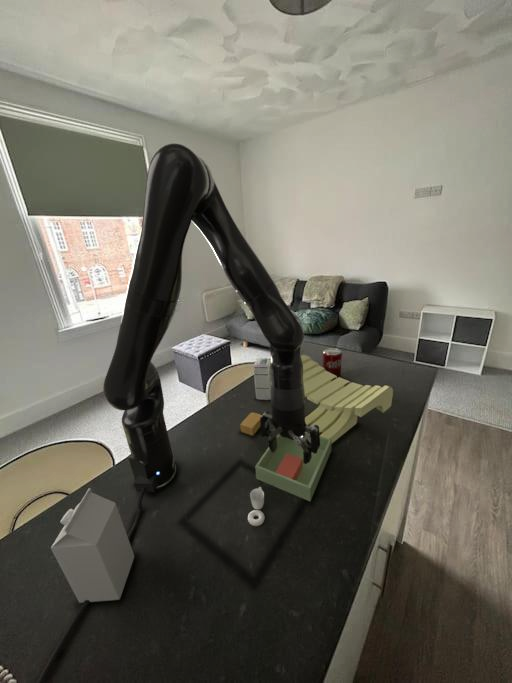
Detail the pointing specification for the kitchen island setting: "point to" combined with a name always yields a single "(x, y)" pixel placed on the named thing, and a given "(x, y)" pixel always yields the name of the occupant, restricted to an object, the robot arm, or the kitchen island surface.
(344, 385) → the slatted curved stool
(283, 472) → the block
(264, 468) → the basket
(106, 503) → the milk carton
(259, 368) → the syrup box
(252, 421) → the block
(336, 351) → the soda can
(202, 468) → the kitchen island surface
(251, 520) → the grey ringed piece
